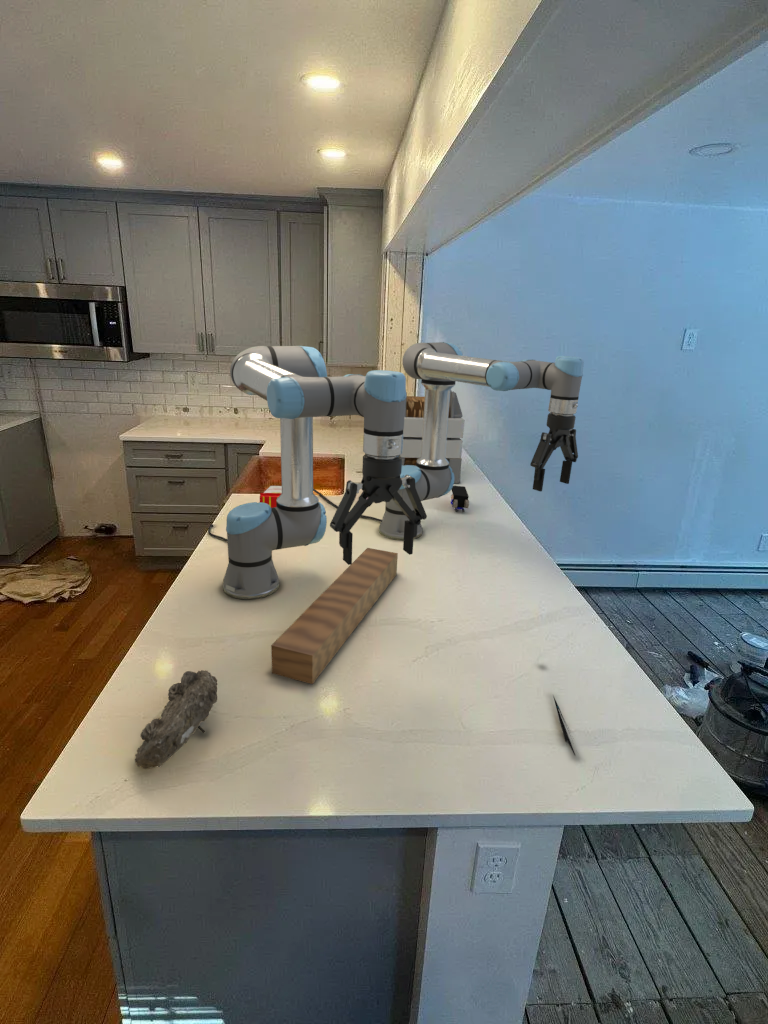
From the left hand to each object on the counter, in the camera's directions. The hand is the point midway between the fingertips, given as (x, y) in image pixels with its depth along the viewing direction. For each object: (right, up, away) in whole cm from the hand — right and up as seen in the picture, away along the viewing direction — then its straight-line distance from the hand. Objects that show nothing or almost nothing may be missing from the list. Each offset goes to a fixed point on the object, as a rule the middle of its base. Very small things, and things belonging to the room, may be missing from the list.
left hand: (378, 556), depth 115 cm
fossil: (-36, -31, -10) cm, 48 cm away
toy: (-38, +7, +94) cm, 102 cm away
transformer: (+18, +28, +160) cm, 164 cm away
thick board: (-9, -18, +31) cm, 36 cm away
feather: (+36, -31, 0) cm, 47 cm away
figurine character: (+31, +11, +114) cm, 118 cm away
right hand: (+50, +17, +51) cm, 73 cm away
